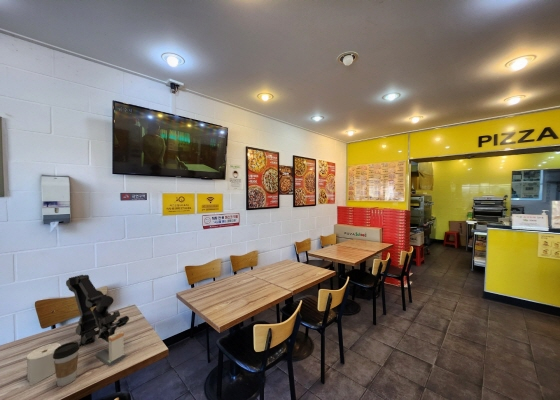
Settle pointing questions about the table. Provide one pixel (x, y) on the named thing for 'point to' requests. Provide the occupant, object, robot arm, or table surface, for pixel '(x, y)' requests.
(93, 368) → the table surface
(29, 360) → the toilet tissue
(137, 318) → the table surface
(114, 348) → the cream box
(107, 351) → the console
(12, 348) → the table surface
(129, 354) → the table surface
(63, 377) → the coffee cup
